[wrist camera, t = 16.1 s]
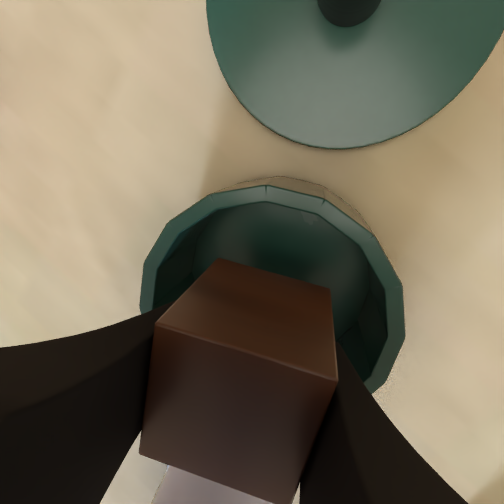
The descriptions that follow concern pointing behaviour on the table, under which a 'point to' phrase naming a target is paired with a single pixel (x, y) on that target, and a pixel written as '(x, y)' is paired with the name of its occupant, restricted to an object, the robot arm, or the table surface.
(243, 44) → the lid
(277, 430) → the block
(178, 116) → the table surface
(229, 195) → the pot
